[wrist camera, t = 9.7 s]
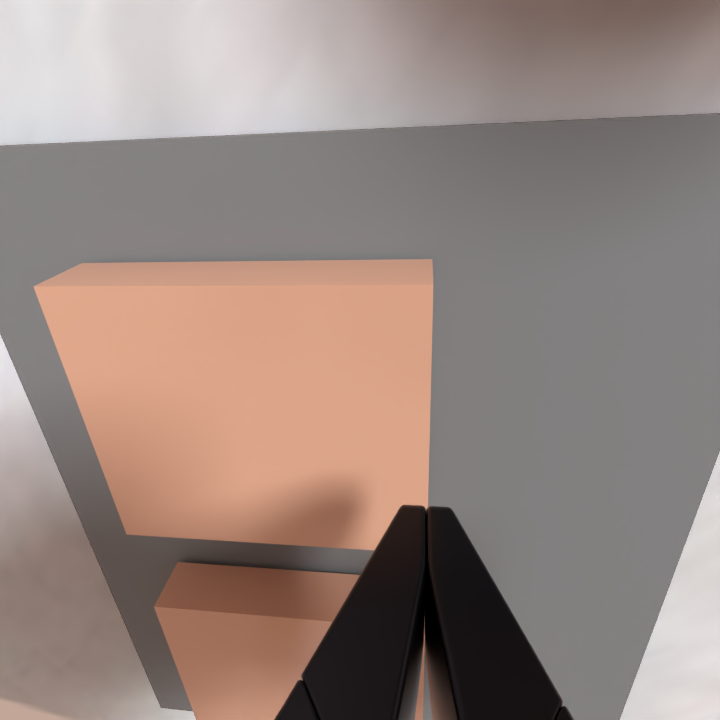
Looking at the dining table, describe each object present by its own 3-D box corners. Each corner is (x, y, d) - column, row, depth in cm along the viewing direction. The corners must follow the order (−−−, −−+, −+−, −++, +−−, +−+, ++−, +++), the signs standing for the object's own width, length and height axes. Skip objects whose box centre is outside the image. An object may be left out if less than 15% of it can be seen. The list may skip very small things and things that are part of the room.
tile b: (426, 553, 12) (126, 534, 13) (426, 502, 14) (157, 488, 15) (433, 284, 9) (33, 286, 10) (432, 257, 10) (85, 260, 11)
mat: (602, 744, 19) (605, 757, 19) (165, 697, 21) (161, 707, 21) (830, 108, 9) (847, 108, 8) (-63, 148, 11) (-79, 150, 11)
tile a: (421, 756, 17) (200, 731, 18) (422, 701, 18) (218, 681, 19) (425, 629, 14) (153, 606, 15) (425, 575, 15) (179, 558, 16)
